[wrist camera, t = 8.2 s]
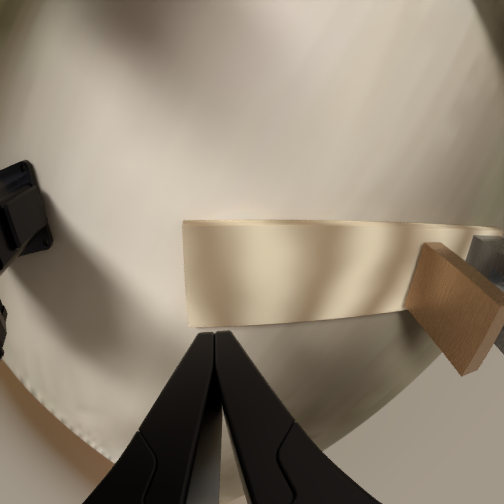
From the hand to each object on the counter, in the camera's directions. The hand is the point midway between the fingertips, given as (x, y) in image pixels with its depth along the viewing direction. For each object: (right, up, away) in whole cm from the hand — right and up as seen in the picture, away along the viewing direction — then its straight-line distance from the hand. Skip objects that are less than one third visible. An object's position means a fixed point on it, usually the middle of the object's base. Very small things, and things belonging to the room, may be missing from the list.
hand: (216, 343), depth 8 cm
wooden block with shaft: (+20, +1, +16) cm, 26 cm away
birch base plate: (+11, +1, +16) cm, 20 cm away
